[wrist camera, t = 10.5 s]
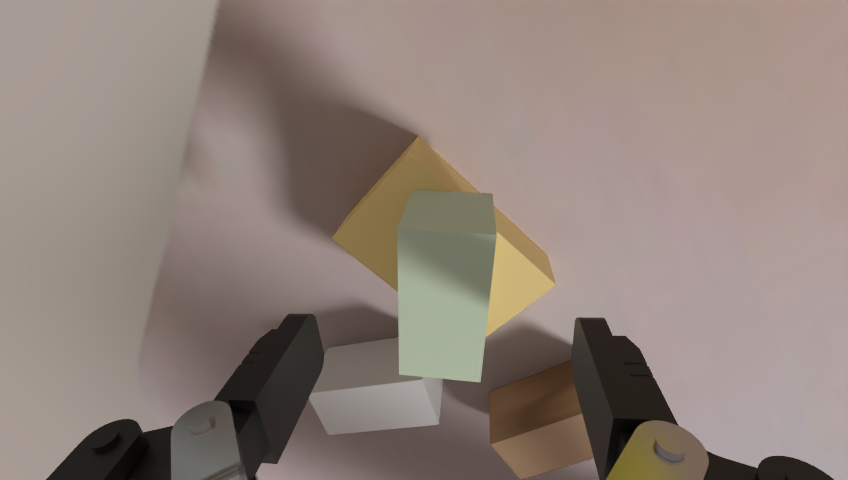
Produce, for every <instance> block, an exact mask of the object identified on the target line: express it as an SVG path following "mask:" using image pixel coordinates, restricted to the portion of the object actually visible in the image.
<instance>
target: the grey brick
mask: <svg viewBox="0 0 848 480" xmlns="http://www.w3.org/2000/svg"><path fill="white" fill-rule="evenodd" d="M442 388H443V379H440V378H429V377H419V376H408V375H399V337H396V338H390V339H383V340H376V341H370V342H363V343H356V344H350V345H343V346H336V347H330V348H328V349H327V351H326V353H325V355H324V363H323V368H322V371H321V373H320V376H319V378H318V380H317V382H316V384H315V386H314V388H313V390H312V392H311V394H310V396H309V400H310V402H311V404H312V406H313V408H314V410H315V411H316V413H317V415H318V417H319V419H320V421H321V423H322V424H323V426H324V428H325V430H326V432H327V434H328V435H337V434H347V433H357V432H368V431H378V430H388V429H399V428H409V427H419V426H430V425H439V418H440V408H441V398H442Z"/></svg>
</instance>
